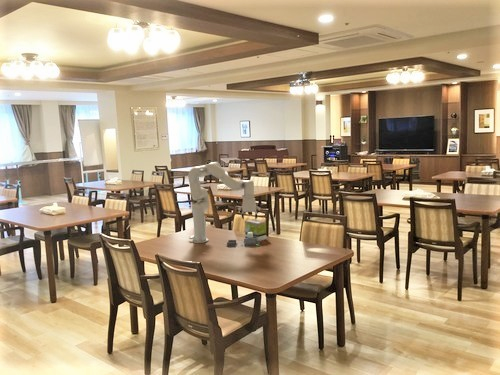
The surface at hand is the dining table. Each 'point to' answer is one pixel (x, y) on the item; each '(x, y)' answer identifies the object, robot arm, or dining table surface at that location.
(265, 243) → the dining table surface
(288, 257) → the dining table surface
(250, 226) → the tea box
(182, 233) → the dining table surface
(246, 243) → the port
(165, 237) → the dining table surface
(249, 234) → the plug
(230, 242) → the holster
